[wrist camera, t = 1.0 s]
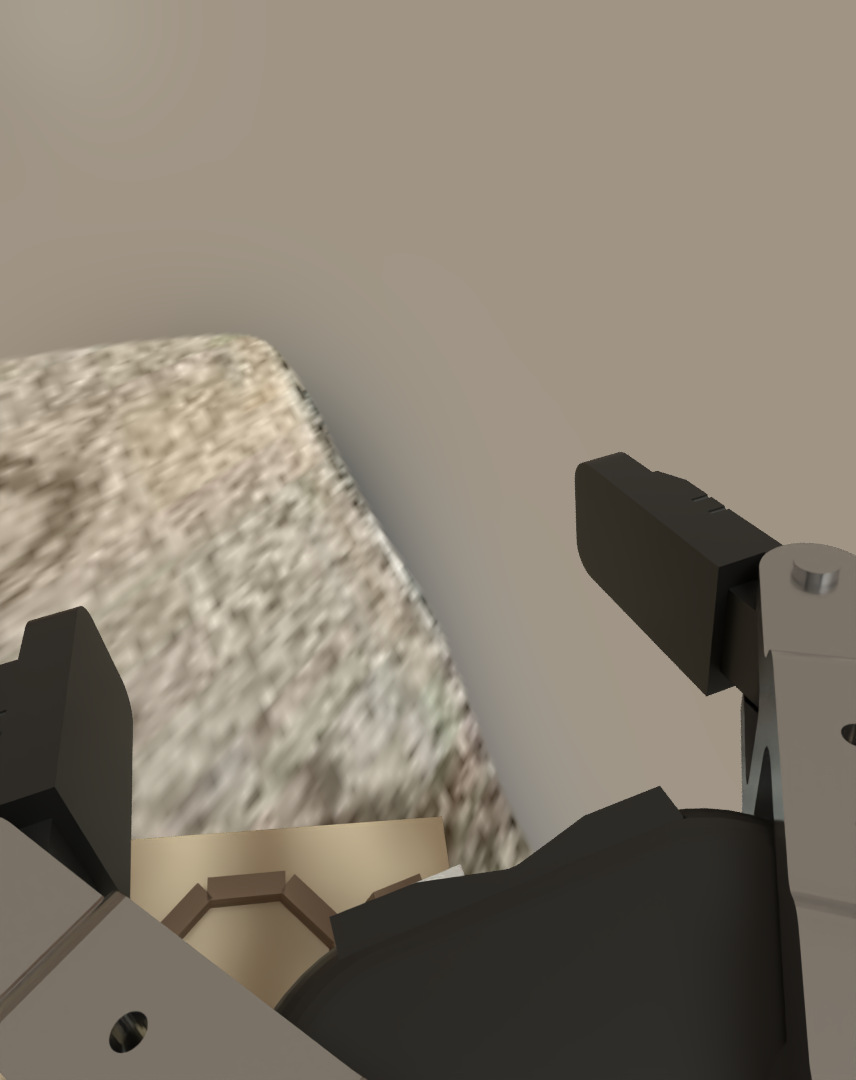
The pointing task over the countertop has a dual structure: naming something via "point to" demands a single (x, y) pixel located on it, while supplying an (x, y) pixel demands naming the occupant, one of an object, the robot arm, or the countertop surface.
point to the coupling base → (277, 889)
